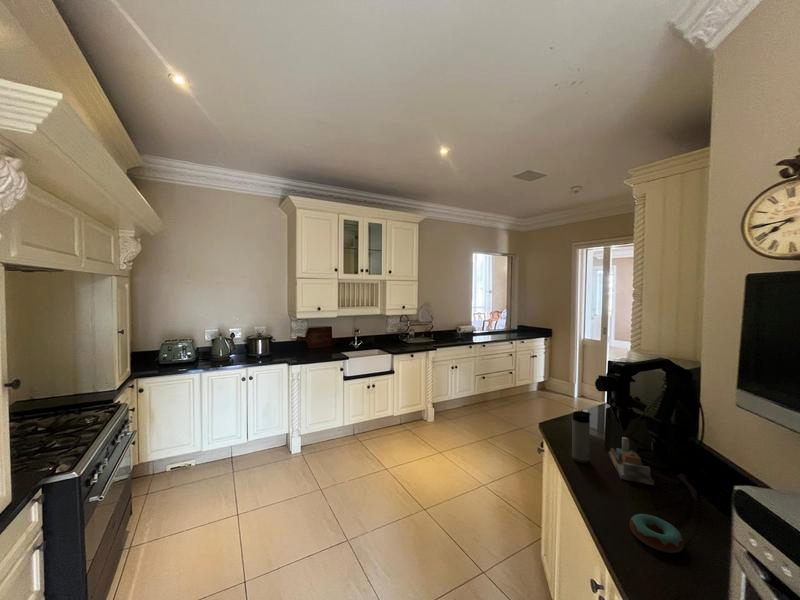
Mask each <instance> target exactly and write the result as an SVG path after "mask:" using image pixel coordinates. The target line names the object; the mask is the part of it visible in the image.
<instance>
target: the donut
mask: <svg viewBox="0 0 800 600" xmlns="http://www.w3.org/2000/svg"><path fill="white" fill-rule="evenodd" d="M629 528H630V529H631V532H632V533H633V534H634V536H635V538H637V539H638V540H639V541H640V542H642V543H643V544H644V545H647V546H648V547H650V548H652V549H654V550H657V551H660V552H662V553H666V554H667V553H668V554H676V553H680V552H682V551H683V549H684V547H685V540H684V537H683V535H682V534H681V532H680V531H679V530H678V529H677V528H676V527H675V526H674V525H673V524H671V523H670V522H667V521H665V520H664V519H662V518H660V517H657V516H655V515H652V514H647V513H638V514H634V515H633V516H631V517H630V520H629Z"/></svg>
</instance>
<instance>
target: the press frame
mask: <svg viewBox="0 0 800 600" xmlns="http://www.w3.org/2000/svg"><path fill="white" fill-rule="evenodd" d="M608 456H609V458H610V460H611V462H612V464H613V465H614V467H615V469H616V471H617V473H618V475H619V477H620V479H621V480H625V481H630V482H635V483H640V484H645V485H650V486H655V480H654V479H653V477H652V476H651V468H650V466H647V465H644V464H643V461H641V465H636V464H631V463H625V462H623V464H622V461H620V459H619V457H618V455H617V454H616V449H614V447H610V450H609V451H608Z"/></svg>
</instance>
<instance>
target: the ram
mask: <svg viewBox="0 0 800 600" xmlns="http://www.w3.org/2000/svg"><path fill="white" fill-rule="evenodd" d="M622 451H627V452H633V453H636V451H634V450H630V438H629V437H625V436H624V437H623V436H622V437H621V448H620V447H616V449H615V452H616V454H617V455H618V457H619V459H620V461H622Z"/></svg>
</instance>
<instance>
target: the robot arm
mask: <svg viewBox="0 0 800 600" xmlns="http://www.w3.org/2000/svg"><path fill="white" fill-rule="evenodd" d="M654 370H661V371H663V372H664V373H665V376H664V378H665V381H666V386H665V389H664V393H663V394H662V395H663V396H662V398H661V401H660V403H659V407H658V409H657V411H656V414H655V415H654V416H648V417H647V421H646V422H645V425H646V426H645V429H646V431H647V432H648V434H649V436H650V437H652V440H651V441H650V450H651V451H652V453H653V454H654V455H655V456H656V457H662V458H668V459H675V458H676V457H675V456H674V446H676V445H678V442H679V439H678V438H676V436H675V435H674V434H673V425H672V417H673V415H674V412H675V409H676V406H677V403H678V401H679V398H680V395H681V392H682V390H683V389H685V388H686V387H688V386H689V385H690V383H691V381H692V379H693V373H692V372H691V371H690V369H688V368H685V367H682V366H681V365H679V364H677V363H675V362H674V361H672V360H670V359H669V358H665V357H656V358H652V359H646V360H639V361H634V362H633V361H614V362H613V364H612V365H611V368H610V369H609V370H608V371H607V372H606V374H605V375H601V374H600V375H599V374H598V377H597V378H596V379H595V381H594V386H595V388H596V390H597V391H598V392H611V393H612V394H613V397H609V398H608V404H609V407H610V409H611V411H612V414H613V416H614V418H615V420H616V423H617V424H619V425H620V427H621V430H622V431H624V432H626V431H627V429H628V426H629V424H630V421H632V420H637V419H638V413H637V412H636V411H634V410H633V408H634V409H636V410H639V411H641V412H642V413H644V412H645V411H646V409H647V406H648V405H647V404H646V403H645V402H643V401H642V400H641V398H640V397H639V396H632V395H631V383H636V380H635V379H634V378H633V377H635V376H636V375H638V373H645V372H649V371H654Z"/></svg>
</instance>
